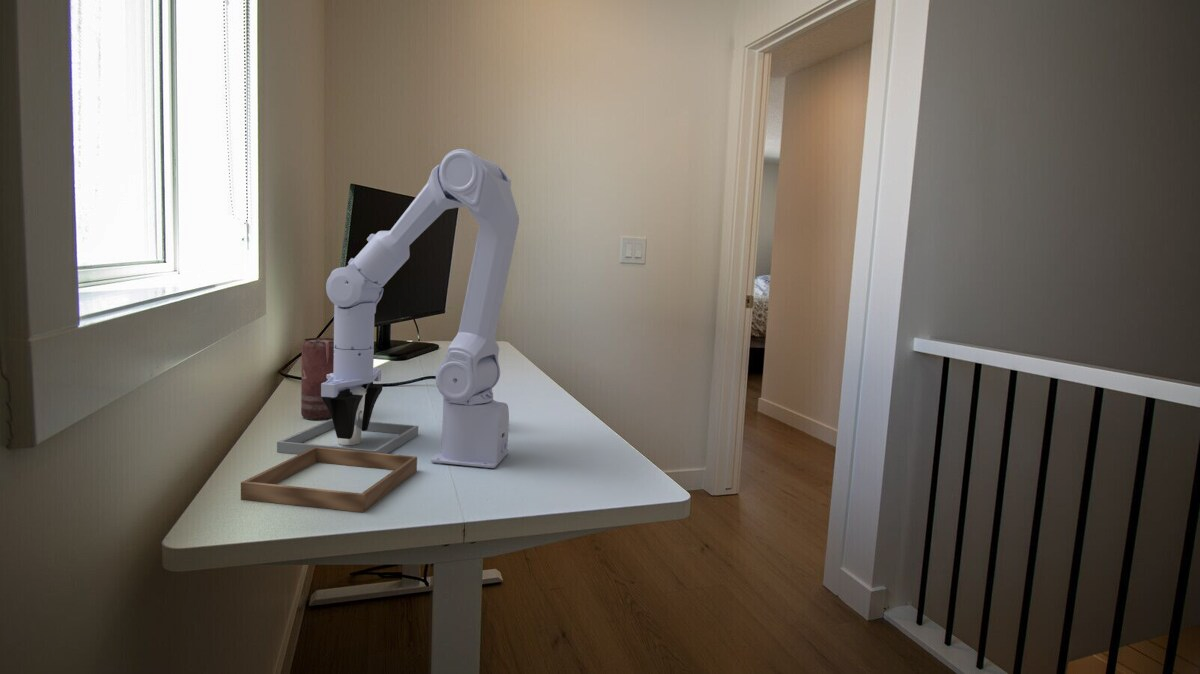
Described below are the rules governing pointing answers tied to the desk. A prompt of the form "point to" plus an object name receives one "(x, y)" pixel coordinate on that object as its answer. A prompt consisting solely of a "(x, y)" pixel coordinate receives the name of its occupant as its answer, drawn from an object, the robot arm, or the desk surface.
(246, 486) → the brown wooden frame
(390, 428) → the grey square frame
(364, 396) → the milkshake
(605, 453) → the desk surface
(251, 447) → the desk surface
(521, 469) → the desk surface
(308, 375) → the can
